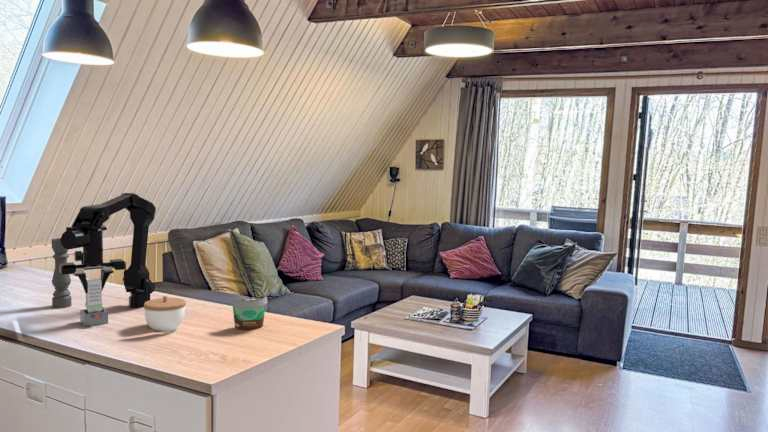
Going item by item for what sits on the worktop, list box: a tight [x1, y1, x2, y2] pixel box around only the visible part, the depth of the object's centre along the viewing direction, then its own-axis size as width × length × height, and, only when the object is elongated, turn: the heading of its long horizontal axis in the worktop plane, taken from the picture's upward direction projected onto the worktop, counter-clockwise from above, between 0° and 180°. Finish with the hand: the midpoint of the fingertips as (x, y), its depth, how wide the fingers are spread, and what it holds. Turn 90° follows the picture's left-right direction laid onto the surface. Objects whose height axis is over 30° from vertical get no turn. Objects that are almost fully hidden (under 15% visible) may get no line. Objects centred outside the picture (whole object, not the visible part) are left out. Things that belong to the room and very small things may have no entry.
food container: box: [230, 295, 268, 331], centre depth 183 cm, size 12×6×10 cm, turn 117°
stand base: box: [79, 306, 109, 327], centre depth 181 cm, size 14×14×5 cm
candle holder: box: [51, 237, 72, 309], centre depth 203 cm, size 6×6×25 cm
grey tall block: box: [84, 278, 103, 314], centre depth 180 cm, size 4×5×10 cm
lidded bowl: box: [143, 295, 187, 334], centre depth 179 cm, size 13×13×11 cm
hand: (93, 292), depth 180 cm, fingers closed on grey tall block, 4 cm apart
